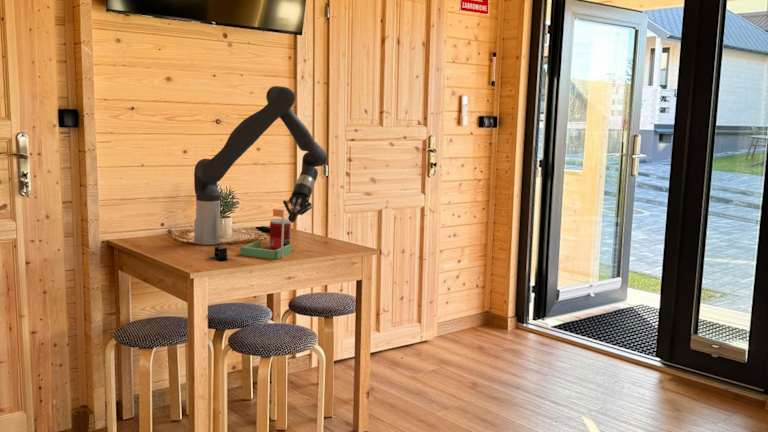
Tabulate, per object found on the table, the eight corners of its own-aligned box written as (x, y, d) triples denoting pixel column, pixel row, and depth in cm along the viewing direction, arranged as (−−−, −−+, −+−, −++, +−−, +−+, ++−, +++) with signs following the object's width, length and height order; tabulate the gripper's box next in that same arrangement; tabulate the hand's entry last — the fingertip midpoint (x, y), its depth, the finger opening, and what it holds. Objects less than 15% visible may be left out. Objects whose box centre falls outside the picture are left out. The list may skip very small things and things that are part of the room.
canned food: (286, 251, 276) (286, 223, 274) (266, 249, 277) (267, 221, 276) (292, 247, 283) (293, 220, 282) (273, 245, 285) (274, 218, 283)
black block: (203, 257, 260) (203, 245, 259) (221, 255, 265) (222, 243, 264) (219, 264, 251) (219, 251, 250) (238, 262, 255) (238, 249, 255)
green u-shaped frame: (240, 255, 264) (241, 207, 262) (257, 248, 278) (258, 202, 275) (279, 259, 260) (281, 211, 257) (295, 252, 274) (297, 206, 271)
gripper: (286, 181, 297) (273, 214, 287) (316, 183, 293) (303, 217, 284) (291, 192, 303) (278, 225, 293) (320, 195, 299) (308, 228, 290)
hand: (291, 221), depth 288 cm, fingers closed
